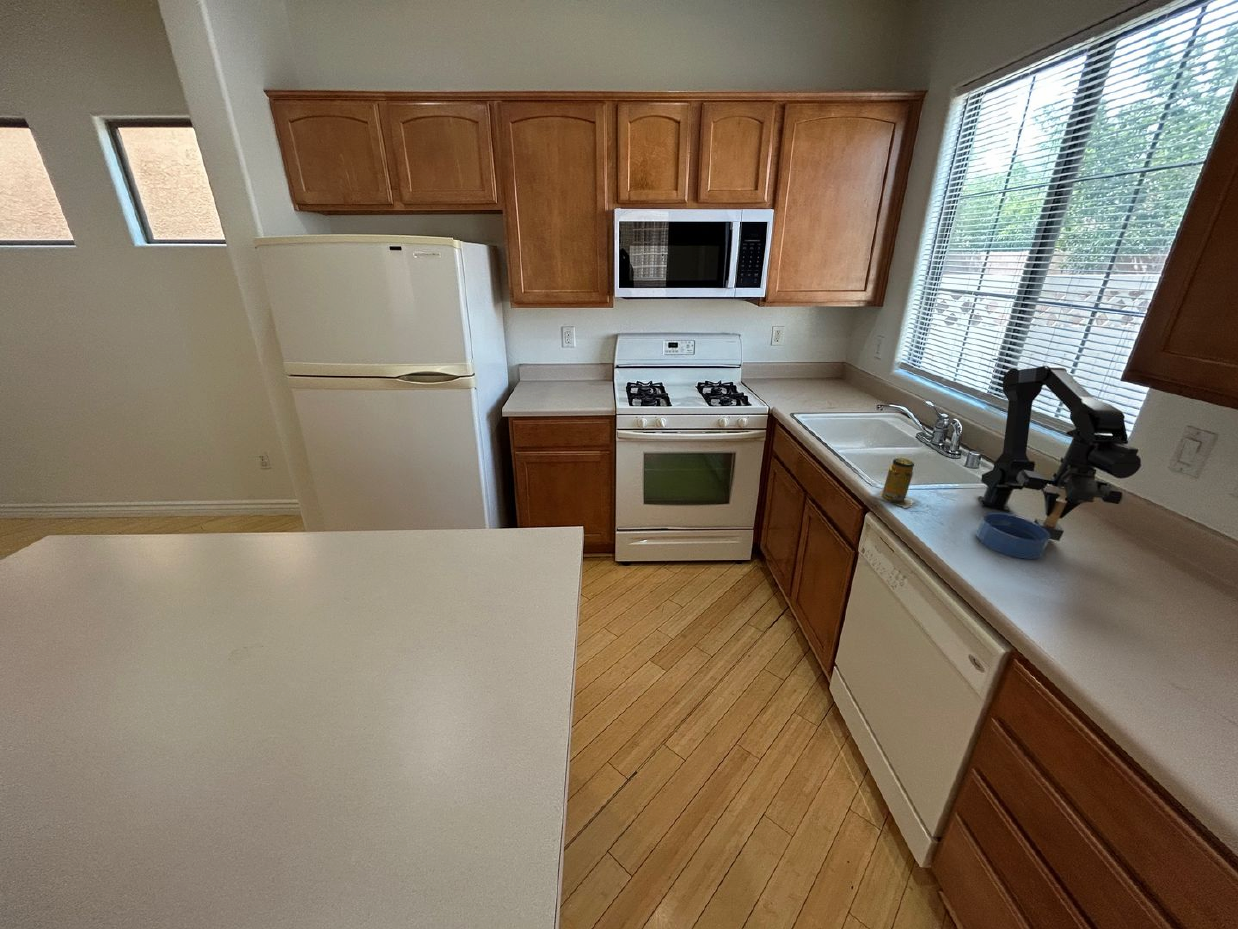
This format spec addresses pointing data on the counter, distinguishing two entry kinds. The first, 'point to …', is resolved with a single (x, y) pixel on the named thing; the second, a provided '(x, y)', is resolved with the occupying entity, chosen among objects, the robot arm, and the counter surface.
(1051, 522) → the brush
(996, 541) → the bowl
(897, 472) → the condiment
